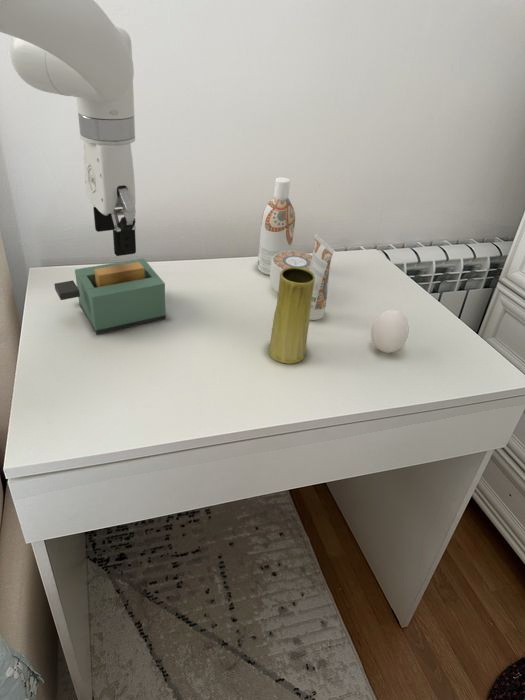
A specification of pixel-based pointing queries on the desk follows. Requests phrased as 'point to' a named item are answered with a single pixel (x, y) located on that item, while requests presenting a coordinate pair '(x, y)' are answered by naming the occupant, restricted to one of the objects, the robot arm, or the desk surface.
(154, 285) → the toaster
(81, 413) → the desk surface
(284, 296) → the vase
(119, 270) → the golden wooden block
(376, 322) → the egg
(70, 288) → the dark grey slab
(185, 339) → the desk surface
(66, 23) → the robot arm
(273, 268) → the cosmetic set
